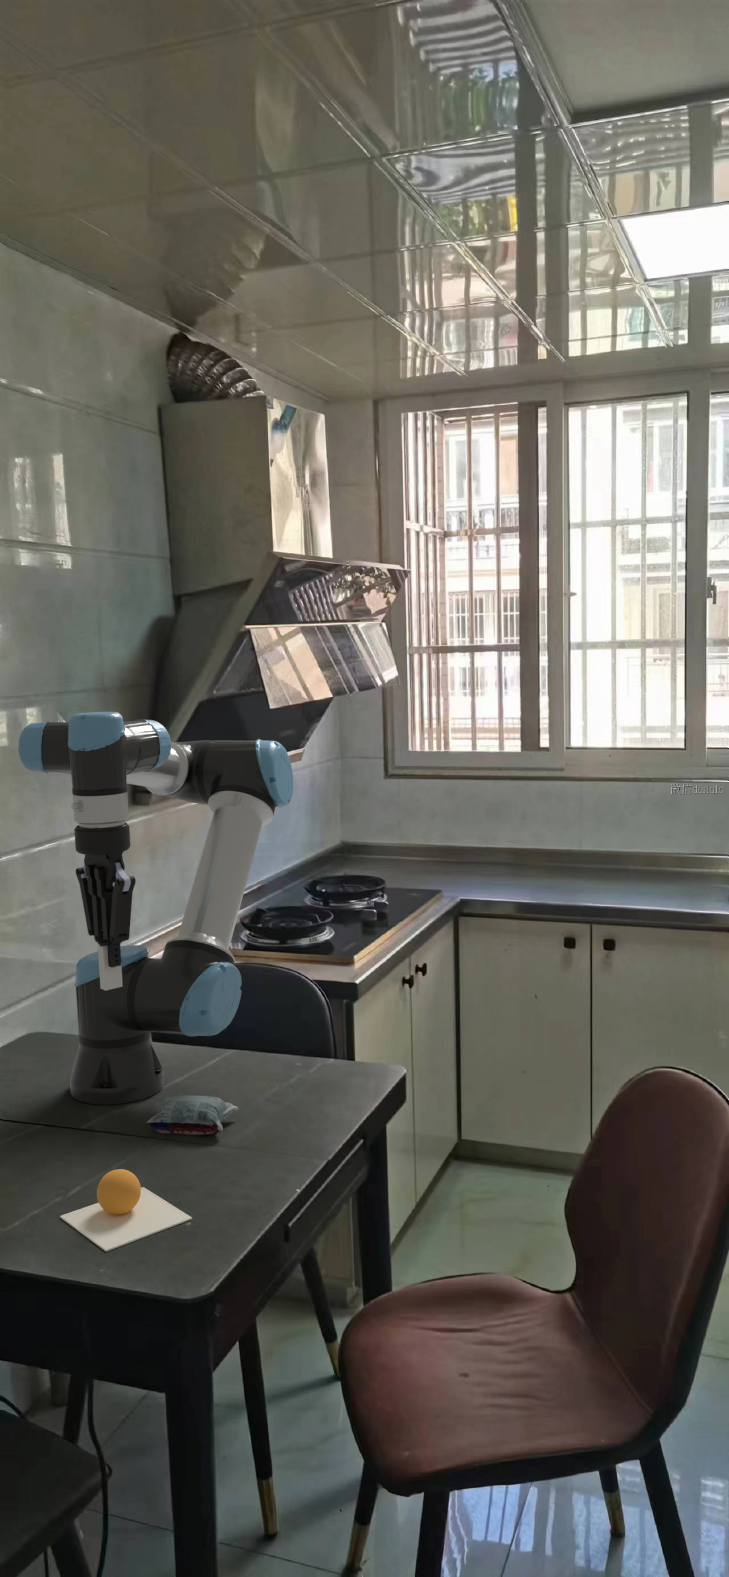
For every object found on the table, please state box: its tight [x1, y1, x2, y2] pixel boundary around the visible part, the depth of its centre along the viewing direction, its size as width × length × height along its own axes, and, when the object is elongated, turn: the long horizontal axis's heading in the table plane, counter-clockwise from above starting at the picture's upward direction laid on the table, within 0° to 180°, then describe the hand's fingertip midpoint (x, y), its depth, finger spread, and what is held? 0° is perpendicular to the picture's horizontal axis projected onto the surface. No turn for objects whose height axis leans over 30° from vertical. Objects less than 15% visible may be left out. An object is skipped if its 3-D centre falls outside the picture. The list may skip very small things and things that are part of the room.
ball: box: [96, 1168, 142, 1215], centre depth 150 cm, size 6×6×6 cm
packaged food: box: [145, 1094, 240, 1136], centre depth 178 cm, size 9×12×5 cm
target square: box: [59, 1186, 193, 1253], centre depth 149 cm, size 12×12×1 cm
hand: (111, 987), depth 168 cm, fingers closed
